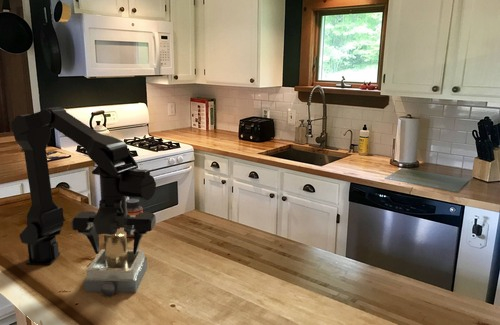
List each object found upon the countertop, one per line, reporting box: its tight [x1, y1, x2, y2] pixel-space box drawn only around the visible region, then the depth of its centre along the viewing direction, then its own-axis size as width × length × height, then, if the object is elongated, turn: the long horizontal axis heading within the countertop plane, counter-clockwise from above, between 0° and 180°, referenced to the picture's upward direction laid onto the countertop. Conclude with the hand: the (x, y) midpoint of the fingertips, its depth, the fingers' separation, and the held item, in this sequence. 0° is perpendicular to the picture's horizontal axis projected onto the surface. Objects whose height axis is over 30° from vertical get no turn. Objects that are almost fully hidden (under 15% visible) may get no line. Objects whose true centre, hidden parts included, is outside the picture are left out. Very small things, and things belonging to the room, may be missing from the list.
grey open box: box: [83, 248, 148, 297], centre depth 101 cm, size 12×14×6 cm
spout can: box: [103, 229, 128, 268], centre depth 100 cm, size 5×6×11 cm
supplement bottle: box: [123, 198, 144, 238], centre depth 128 cm, size 6×6×11 cm
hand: (116, 253), depth 101 cm, fingers open, 9 cm apart
